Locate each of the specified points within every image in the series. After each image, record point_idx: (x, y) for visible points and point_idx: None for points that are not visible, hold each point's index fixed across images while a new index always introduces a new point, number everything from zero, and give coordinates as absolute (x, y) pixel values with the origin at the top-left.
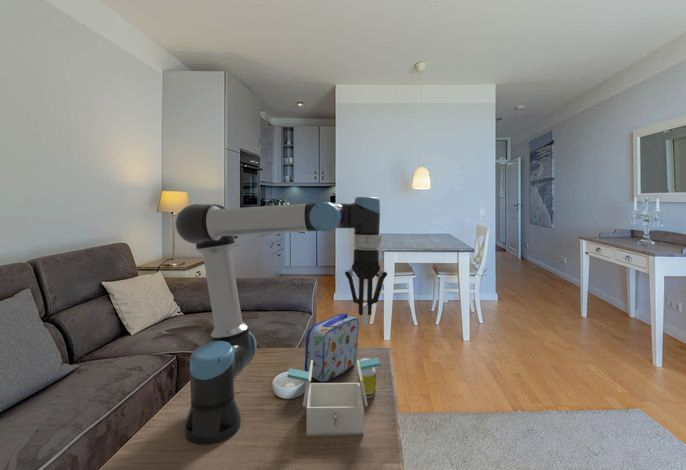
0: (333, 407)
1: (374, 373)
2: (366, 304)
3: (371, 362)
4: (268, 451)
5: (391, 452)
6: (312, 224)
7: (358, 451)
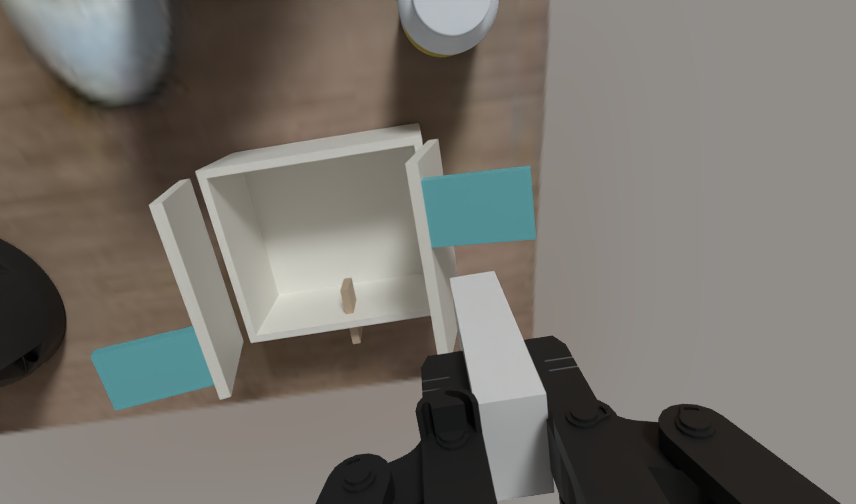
0: (342, 326)
1: (491, 26)
2: (535, 456)
3: (491, 215)
4: None
5: (519, 328)
6: None
7: (432, 337)
